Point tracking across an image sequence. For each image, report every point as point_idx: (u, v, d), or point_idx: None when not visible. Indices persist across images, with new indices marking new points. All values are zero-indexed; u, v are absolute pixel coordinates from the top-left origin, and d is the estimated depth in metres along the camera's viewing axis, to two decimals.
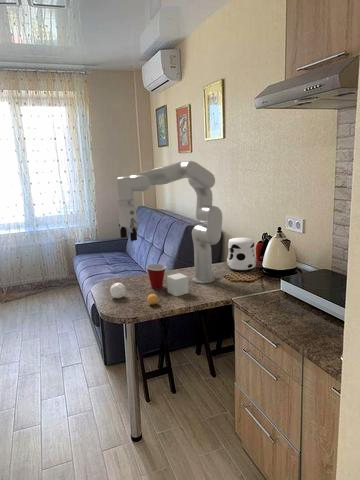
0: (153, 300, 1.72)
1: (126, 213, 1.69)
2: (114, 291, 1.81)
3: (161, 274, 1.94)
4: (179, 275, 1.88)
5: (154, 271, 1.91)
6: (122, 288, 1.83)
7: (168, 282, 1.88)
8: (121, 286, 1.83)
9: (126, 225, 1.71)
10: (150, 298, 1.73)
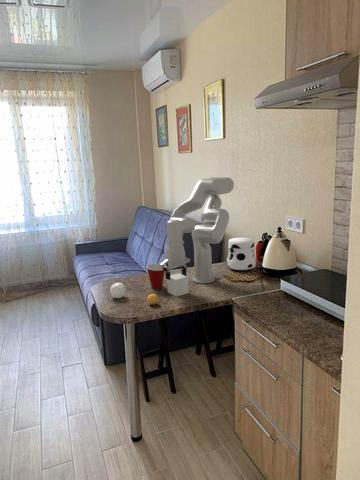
0: (153, 300, 1.72)
1: (183, 252, 1.84)
2: (114, 291, 1.81)
3: (161, 274, 1.94)
4: (179, 275, 1.88)
5: (154, 271, 1.91)
6: (122, 288, 1.83)
7: (168, 282, 1.88)
8: (121, 286, 1.83)
9: (182, 263, 1.85)
10: (150, 298, 1.73)
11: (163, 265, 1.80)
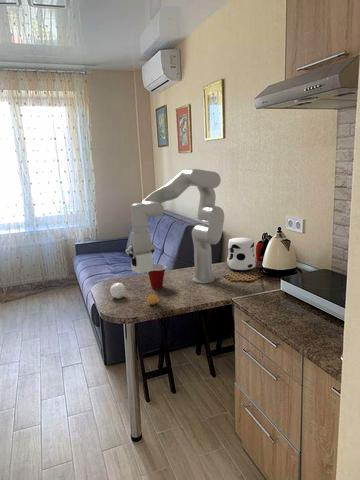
0: (153, 300, 1.72)
1: (149, 237, 1.78)
2: (114, 291, 1.81)
3: (161, 274, 1.94)
4: (143, 252, 1.80)
5: (154, 271, 1.91)
6: (122, 288, 1.83)
7: None
8: (121, 286, 1.83)
9: (148, 249, 1.78)
10: (150, 298, 1.73)
11: (128, 251, 1.74)
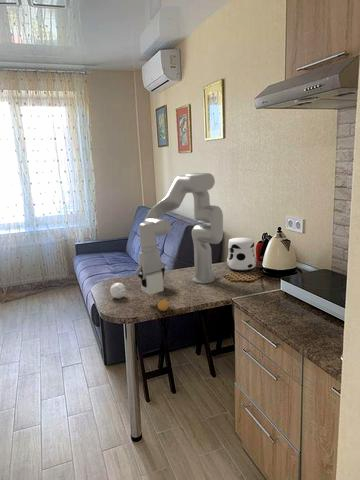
0: None
1: (158, 256, 1.71)
2: (114, 291, 1.81)
3: None
4: None
5: None
6: (122, 288, 1.83)
7: None
8: (121, 286, 1.83)
9: (157, 268, 1.72)
10: None
11: (137, 272, 1.68)
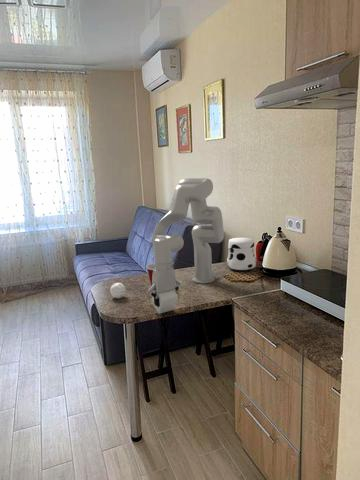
0: None
1: (173, 274, 1.62)
2: (114, 291, 1.81)
3: None
4: None
5: None
6: (122, 288, 1.83)
7: None
8: (121, 286, 1.83)
9: (172, 287, 1.62)
10: None
11: (151, 291, 1.58)
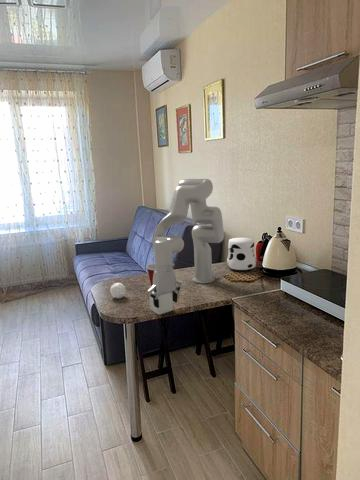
0: None
1: (173, 276, 1.62)
2: (114, 291, 1.81)
3: None
4: None
5: None
6: (122, 288, 1.83)
7: (150, 298, 1.67)
8: (121, 286, 1.83)
9: (172, 288, 1.63)
10: None
11: (150, 292, 1.58)
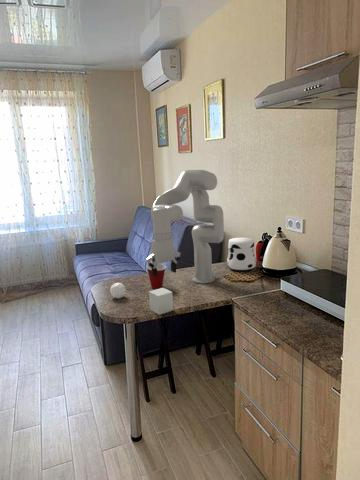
0: None
1: (172, 245, 1.59)
2: (114, 291, 1.81)
3: (161, 274, 1.94)
4: (162, 290, 1.68)
5: None
6: (122, 288, 1.83)
7: (150, 298, 1.67)
8: (121, 286, 1.83)
9: (171, 258, 1.60)
10: None
11: (149, 260, 1.55)
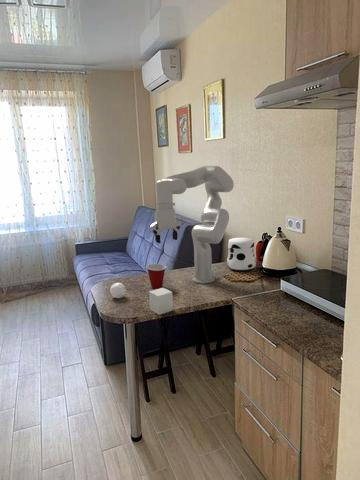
0: None
1: (174, 214, 1.76)
2: (114, 291, 1.81)
3: (161, 274, 1.94)
4: (162, 290, 1.68)
5: (154, 271, 1.91)
6: (122, 288, 1.83)
7: (150, 298, 1.67)
8: (121, 286, 1.83)
9: (172, 226, 1.77)
10: None
11: (152, 227, 1.73)
